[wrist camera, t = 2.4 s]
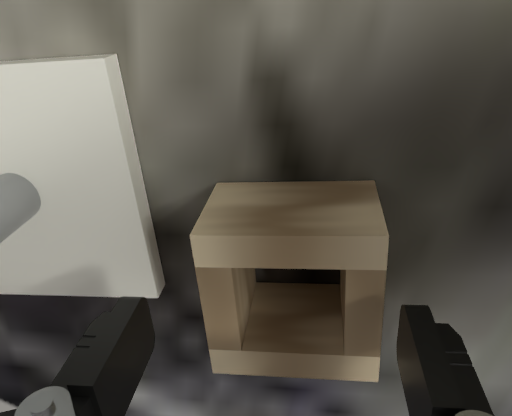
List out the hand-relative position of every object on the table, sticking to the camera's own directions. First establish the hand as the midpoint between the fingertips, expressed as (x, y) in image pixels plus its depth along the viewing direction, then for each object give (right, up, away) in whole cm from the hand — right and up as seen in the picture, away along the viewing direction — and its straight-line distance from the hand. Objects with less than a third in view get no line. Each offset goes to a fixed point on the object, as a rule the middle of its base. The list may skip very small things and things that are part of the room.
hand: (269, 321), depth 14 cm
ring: (+1, +2, +4) cm, 5 cm away
